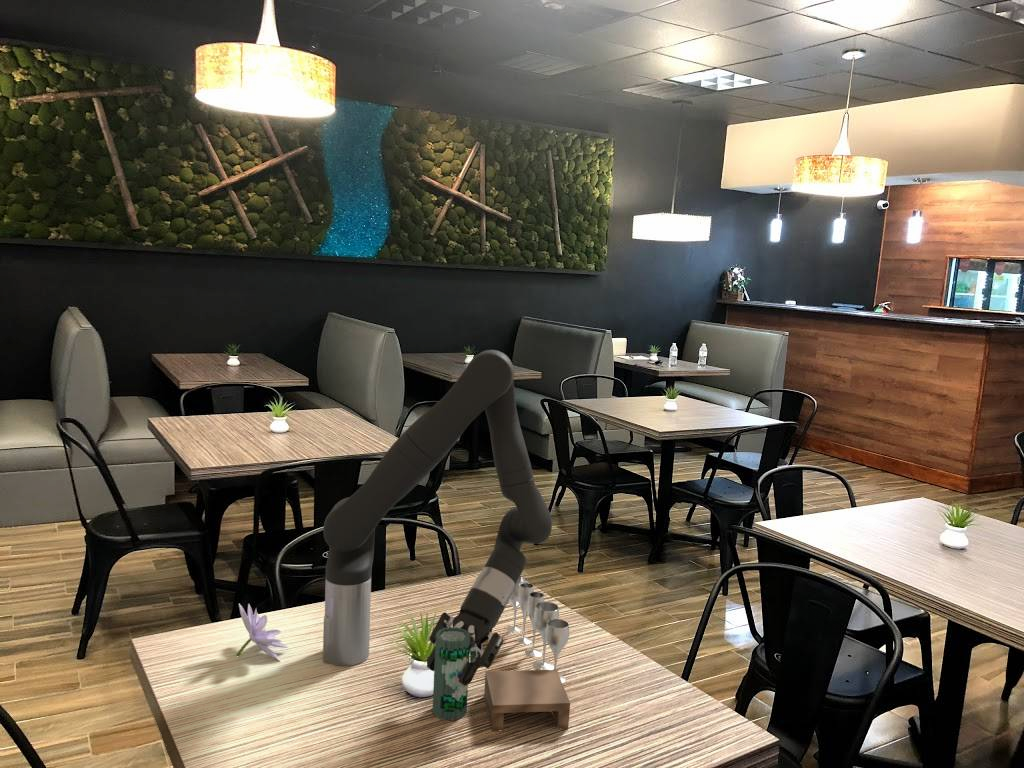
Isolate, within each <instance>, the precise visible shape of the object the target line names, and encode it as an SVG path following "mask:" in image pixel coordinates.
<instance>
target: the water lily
mask: <svg viewBox="0 0 1024 768" xmlns="http://www.w3.org/2000/svg"><path fill="white" fill-rule="evenodd" d="M238 608H239V613H240V616H241V617H240V618H241V620H242V622H243V624H244V628H245V630H246V631H247V632H248V634H249V635H248V636H249V638H248V640H246V642H245V643H243V645H242V646H241V648H239V650H238V652H236V655H235V656H236V657H237V656H241V654H242V652H243V651H244V650H245V648H246V647H247V646H248V645H249V644H250V642H253V643H255V644H256V645H257V647H259V649H260V650H261V651H263V652H264V653H266V655H268V656H269V657H271V658H273V660H274V659H275V660H276V661H279V662H281V659H280V657H279V656H278V655H277V654H276V652H274V651H273V650H272V649H271V648H270V647H275V648H281V649H282V648H283V649H288V648H289V646H288V645H286V644H284V643H282V640H281V639H277V638H276V636H278V635H280V634H281V633H282V630H280V629H269V630H266V628H265V627H266V626H267V623H268V615H266V614H264V615H262V616H261V617H260V615H259V613H258V611H257V608H255V610H254V612H253V609H252V607H251V605H250V603H248V604H247V613H246V611H245V609H244V606H243V605H241V603H238ZM265 645H267V646H270V647H267V646H265ZM277 658H279V659H280V660H278V659H277Z"/></svg>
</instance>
